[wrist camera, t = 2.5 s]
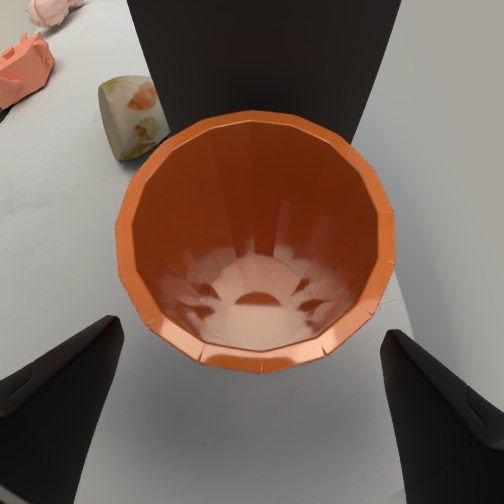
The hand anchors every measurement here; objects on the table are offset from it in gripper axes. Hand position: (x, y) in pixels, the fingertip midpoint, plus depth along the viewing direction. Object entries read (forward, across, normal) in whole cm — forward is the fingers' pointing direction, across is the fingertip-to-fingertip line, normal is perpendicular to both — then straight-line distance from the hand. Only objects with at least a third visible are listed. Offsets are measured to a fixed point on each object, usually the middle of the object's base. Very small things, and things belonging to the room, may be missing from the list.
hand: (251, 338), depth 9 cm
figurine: (+47, +44, -33) cm, 73 cm away
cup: (+9, 0, +5) cm, 10 cm away
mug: (+20, +9, -5) cm, 22 cm away
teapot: (+29, +35, -15) cm, 48 cm away
